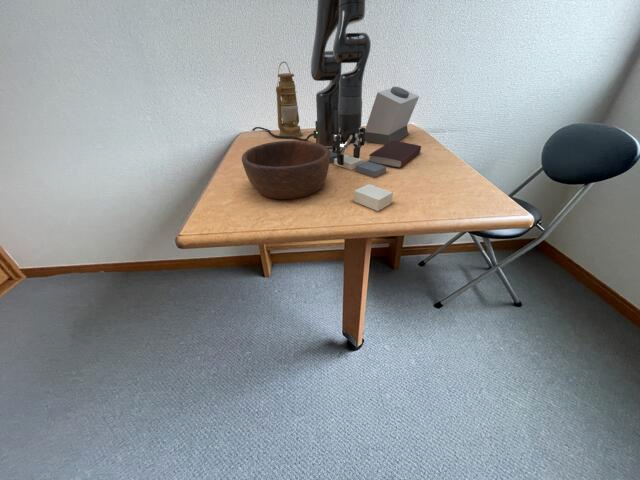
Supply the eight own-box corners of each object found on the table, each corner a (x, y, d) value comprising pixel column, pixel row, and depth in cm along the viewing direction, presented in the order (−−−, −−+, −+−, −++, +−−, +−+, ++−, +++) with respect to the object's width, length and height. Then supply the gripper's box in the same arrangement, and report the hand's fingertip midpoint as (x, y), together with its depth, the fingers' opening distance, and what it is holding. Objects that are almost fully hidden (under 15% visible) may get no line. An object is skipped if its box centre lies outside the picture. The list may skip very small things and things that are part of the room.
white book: (334, 164, 98) (334, 158, 97) (345, 160, 102) (345, 154, 100) (351, 169, 93) (351, 164, 92) (362, 165, 97) (362, 159, 96)
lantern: (286, 130, 140) (279, 60, 123) (305, 131, 138) (301, 60, 121) (274, 138, 129) (265, 62, 111) (295, 139, 126) (289, 62, 109)
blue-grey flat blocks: (315, 158, 104) (315, 152, 103) (326, 154, 108) (326, 149, 107) (374, 177, 87) (375, 171, 86) (385, 172, 91) (386, 166, 90)
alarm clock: (381, 130, 135) (386, 83, 123) (413, 134, 127) (421, 84, 116) (361, 140, 122) (364, 88, 110) (395, 146, 114) (402, 90, 102)
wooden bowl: (239, 206, 74) (231, 169, 68) (255, 172, 94) (250, 141, 88) (332, 203, 74) (332, 165, 68) (328, 169, 94) (328, 138, 88)
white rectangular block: (353, 201, 74) (354, 190, 73) (367, 194, 78) (368, 183, 76) (377, 211, 70) (378, 199, 68) (391, 203, 73) (393, 192, 71)
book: (420, 153, 105) (422, 144, 103) (401, 169, 93) (402, 159, 91) (389, 148, 111) (390, 140, 110) (367, 162, 99) (368, 153, 97)
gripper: (355, 106, 94) (353, 154, 103) (325, 113, 86) (326, 164, 95) (373, 109, 89) (369, 159, 98) (343, 116, 81) (342, 169, 91)
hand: (348, 161), depth 97 cm, fingers open, 7 cm apart
